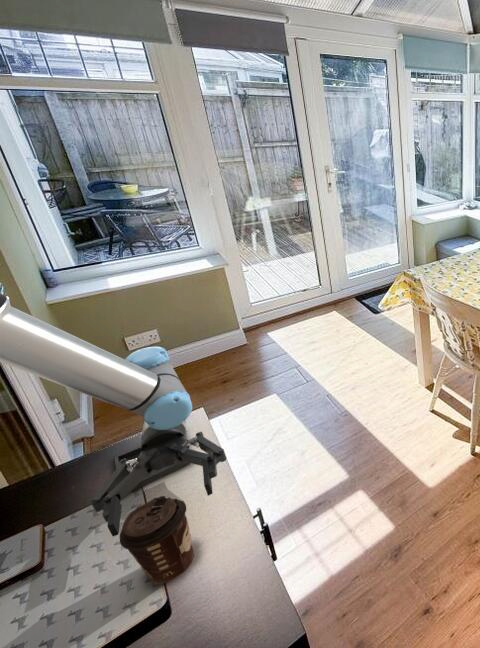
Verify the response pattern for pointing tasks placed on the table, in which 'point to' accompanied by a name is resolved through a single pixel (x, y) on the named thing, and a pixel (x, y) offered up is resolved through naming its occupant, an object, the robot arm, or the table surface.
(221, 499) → the table surface
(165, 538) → the coffee cup
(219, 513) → the table surface
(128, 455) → the coaster pad
